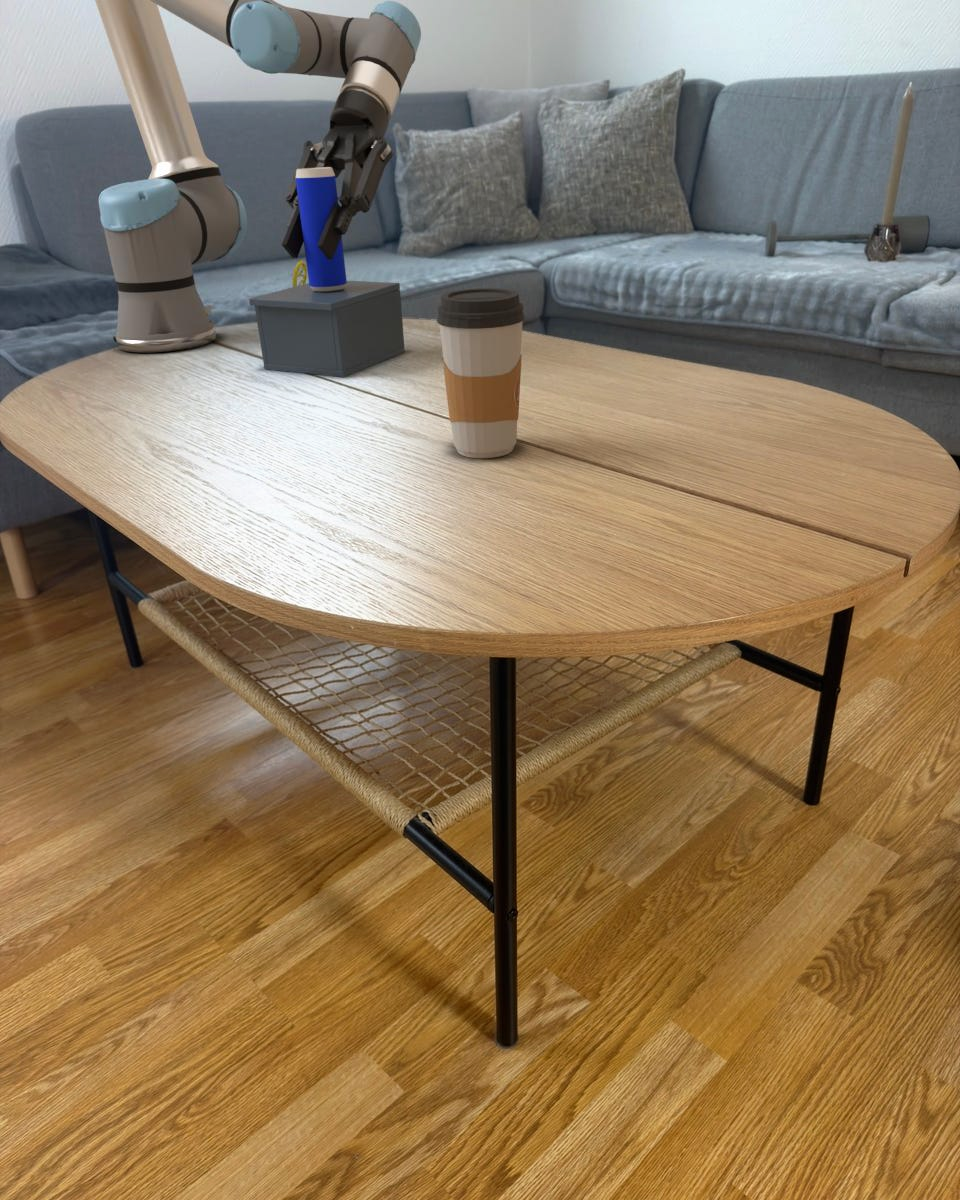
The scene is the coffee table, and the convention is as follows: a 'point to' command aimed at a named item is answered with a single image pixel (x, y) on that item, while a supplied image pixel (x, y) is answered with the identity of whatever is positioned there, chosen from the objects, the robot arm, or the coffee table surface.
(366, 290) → the lid
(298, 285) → the yellow spoked ring
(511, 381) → the coffee cup
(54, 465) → the coffee table surface
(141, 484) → the coffee table surface
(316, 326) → the chest
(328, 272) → the beverage can
